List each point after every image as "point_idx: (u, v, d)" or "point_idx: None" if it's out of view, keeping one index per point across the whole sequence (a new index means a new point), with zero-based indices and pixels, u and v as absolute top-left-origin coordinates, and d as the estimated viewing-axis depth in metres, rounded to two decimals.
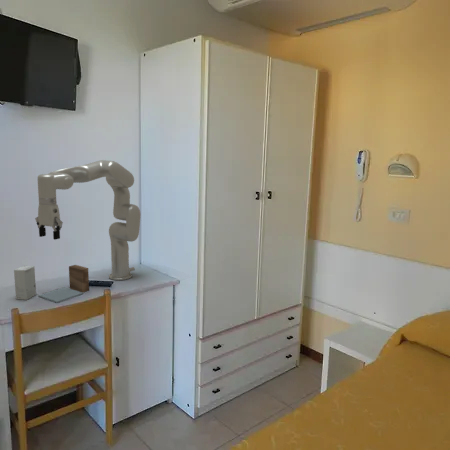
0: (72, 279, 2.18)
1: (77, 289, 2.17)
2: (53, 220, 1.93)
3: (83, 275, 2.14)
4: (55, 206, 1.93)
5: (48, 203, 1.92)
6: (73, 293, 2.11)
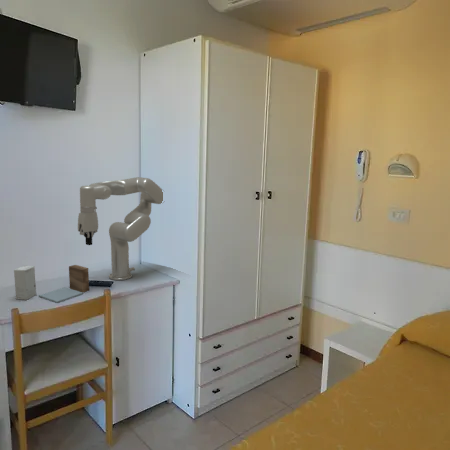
0: (72, 279, 2.18)
1: (77, 289, 2.17)
2: None
3: (83, 275, 2.14)
4: None
5: (95, 210, 2.19)
6: (73, 293, 2.11)
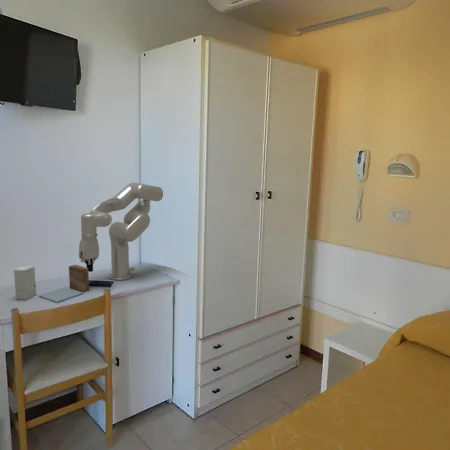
0: (72, 279, 2.18)
1: (77, 289, 2.17)
2: None
3: (83, 275, 2.14)
4: None
5: None
6: (73, 293, 2.11)
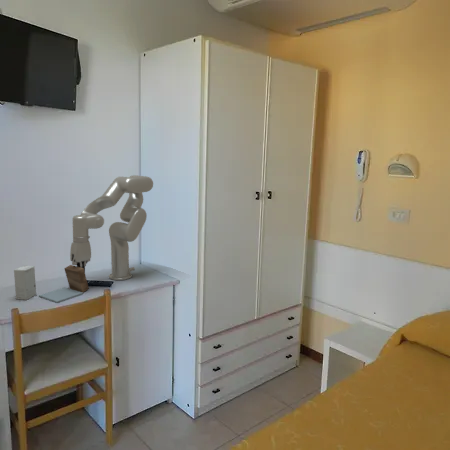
0: (70, 280, 2.17)
1: (77, 289, 2.17)
2: None
3: (80, 277, 2.12)
4: None
5: None
6: (73, 293, 2.11)
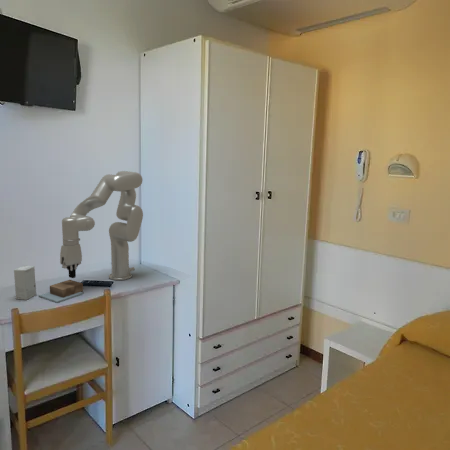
0: None
1: None
2: None
3: (68, 294, 2.08)
4: None
5: (78, 242, 2.13)
6: None
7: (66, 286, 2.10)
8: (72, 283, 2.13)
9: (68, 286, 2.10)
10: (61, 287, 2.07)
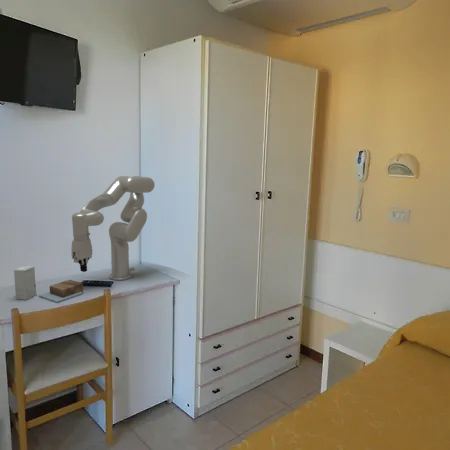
0: None
1: None
2: None
3: (68, 294, 2.08)
4: None
5: (88, 237, 2.18)
6: None
7: (66, 286, 2.10)
8: (72, 283, 2.13)
9: (68, 286, 2.10)
10: (61, 287, 2.07)
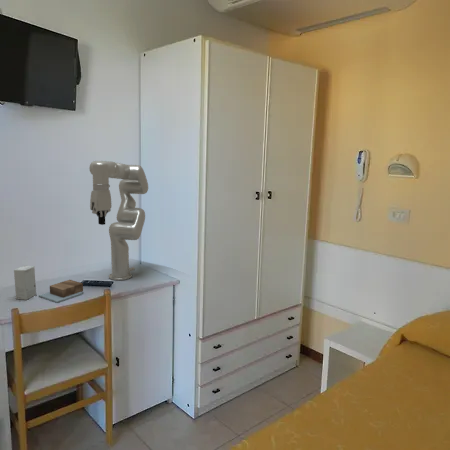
0: None
1: None
2: None
3: (68, 294, 2.08)
4: None
5: (108, 188, 2.10)
6: None
7: (66, 286, 2.10)
8: (72, 283, 2.13)
9: (68, 286, 2.10)
10: (61, 287, 2.07)
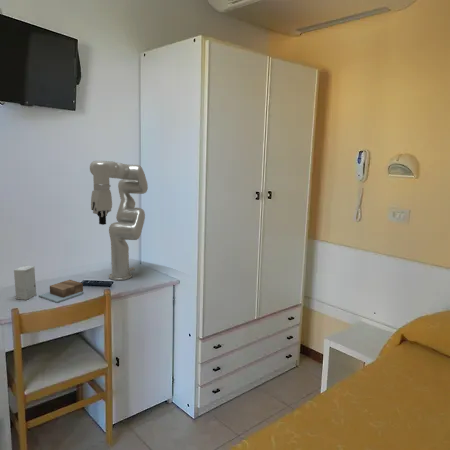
0: None
1: None
2: None
3: (68, 294, 2.08)
4: None
5: None
6: None
7: (66, 286, 2.10)
8: (72, 283, 2.13)
9: (68, 286, 2.10)
10: (61, 287, 2.07)
